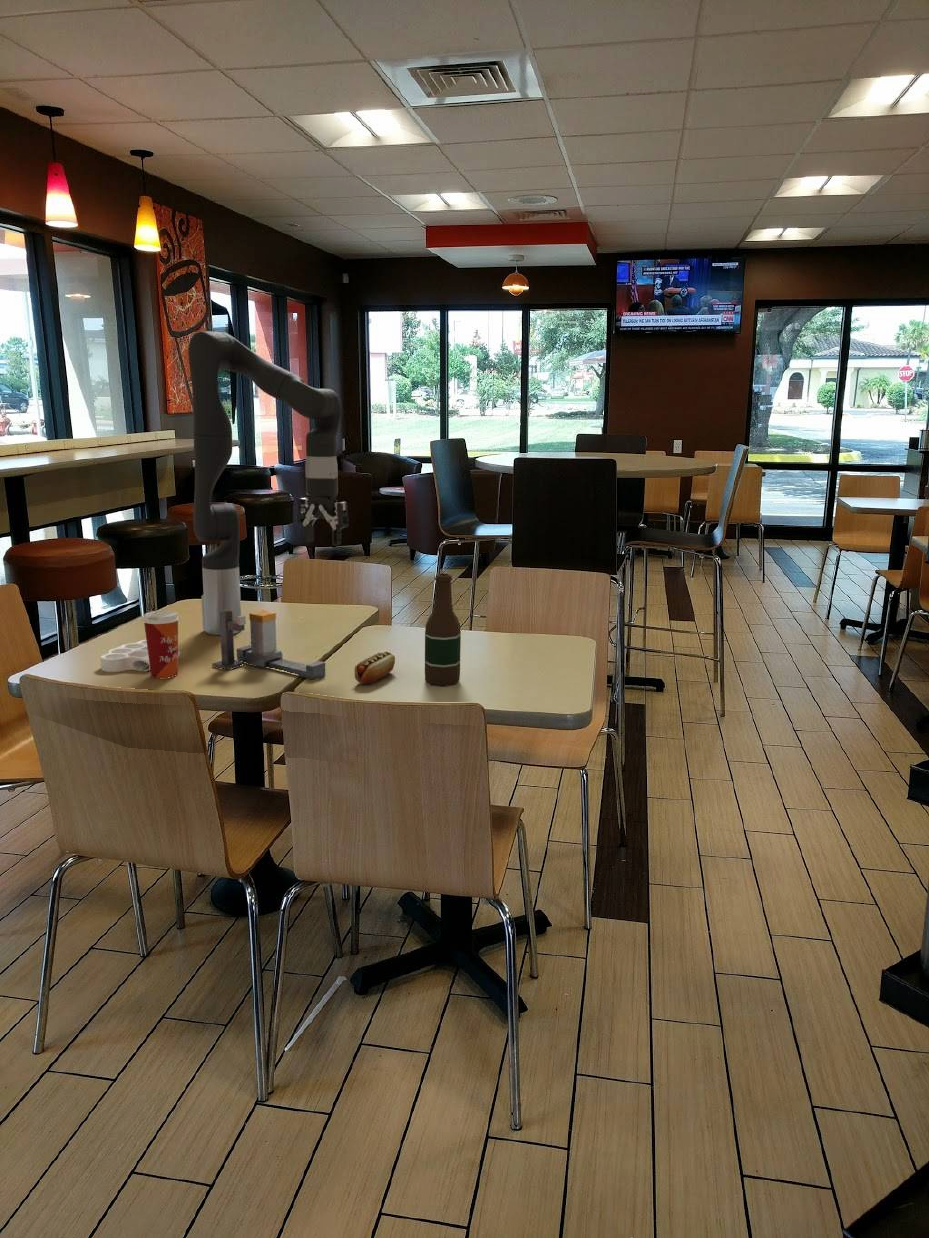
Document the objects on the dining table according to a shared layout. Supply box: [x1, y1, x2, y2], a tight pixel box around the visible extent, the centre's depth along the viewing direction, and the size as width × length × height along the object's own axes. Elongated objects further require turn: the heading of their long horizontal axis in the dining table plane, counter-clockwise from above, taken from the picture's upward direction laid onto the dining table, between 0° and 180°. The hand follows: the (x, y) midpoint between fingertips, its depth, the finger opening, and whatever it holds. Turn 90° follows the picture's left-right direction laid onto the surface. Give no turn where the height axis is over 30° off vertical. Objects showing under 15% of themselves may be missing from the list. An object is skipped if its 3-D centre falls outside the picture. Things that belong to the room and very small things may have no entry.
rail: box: [236, 644, 326, 681], centre depth 210 cm, size 24×4×3 cm, turn 56°
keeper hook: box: [211, 610, 247, 671], centre depth 208 cm, size 8×5×13 cm, turn 56°
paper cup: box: [142, 610, 180, 680], centre depth 202 cm, size 8×8×14 cm
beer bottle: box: [424, 573, 462, 688], centre depth 199 cm, size 8×8×24 cm
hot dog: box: [354, 650, 396, 685], centre depth 203 cm, size 5×13×5 cm, turn 156°
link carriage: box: [245, 609, 283, 669], centre depth 211 cm, size 6×6×12 cm
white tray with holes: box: [100, 639, 181, 673], centre depth 213 cm, size 3×18×15 cm
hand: (323, 543), depth 221 cm, fingers open, 8 cm apart
